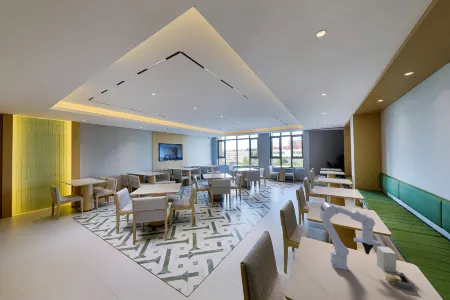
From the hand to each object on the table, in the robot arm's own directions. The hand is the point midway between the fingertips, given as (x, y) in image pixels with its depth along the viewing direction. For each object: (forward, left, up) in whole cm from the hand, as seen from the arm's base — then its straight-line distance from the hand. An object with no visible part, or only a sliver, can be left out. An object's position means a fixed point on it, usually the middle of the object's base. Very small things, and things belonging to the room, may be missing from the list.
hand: (366, 253), depth 119 cm
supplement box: (+12, +4, -10) cm, 16 cm away
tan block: (+10, -10, -10) cm, 17 cm away
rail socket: (+14, -9, -10) cm, 19 cm away
